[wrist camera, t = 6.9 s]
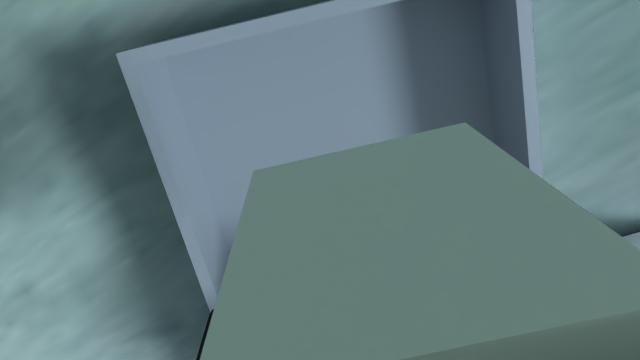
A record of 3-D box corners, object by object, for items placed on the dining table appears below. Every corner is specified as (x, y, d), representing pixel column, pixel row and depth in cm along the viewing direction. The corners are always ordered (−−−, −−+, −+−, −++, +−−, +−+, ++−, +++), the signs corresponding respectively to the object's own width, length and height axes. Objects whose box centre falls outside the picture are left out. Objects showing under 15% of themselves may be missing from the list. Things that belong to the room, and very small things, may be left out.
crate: (151, 43, 25) (115, 53, 20) (482, -37, 24) (527, -47, 19) (263, 374, 33) (256, 439, 28) (518, 321, 32) (557, 379, 27)
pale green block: (253, 170, 11) (187, 402, 5) (465, 122, 11) (703, 296, 5) (311, 371, 13) (322, 727, 7) (491, 333, 13) (681, 663, 7)
